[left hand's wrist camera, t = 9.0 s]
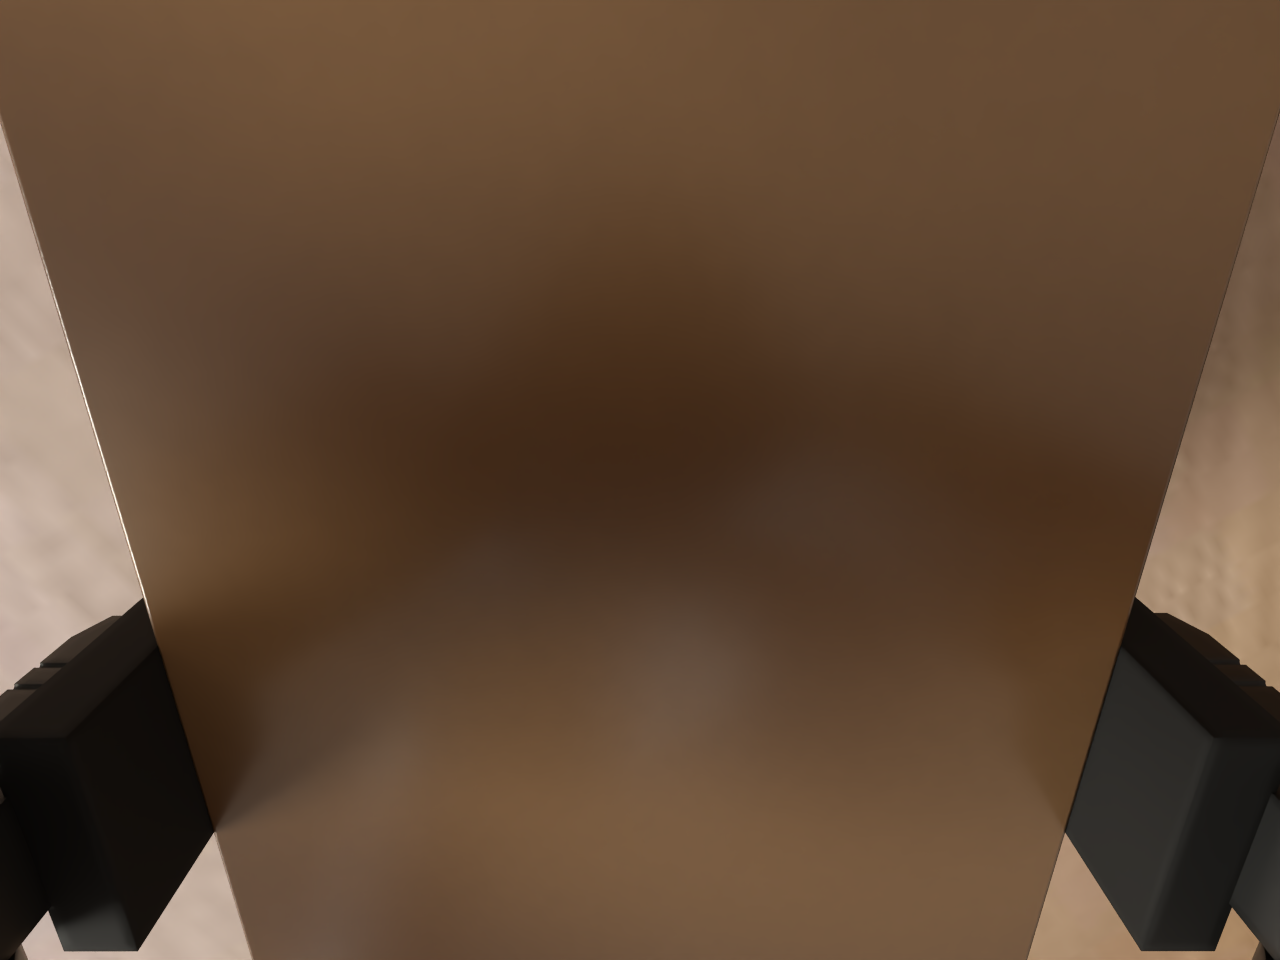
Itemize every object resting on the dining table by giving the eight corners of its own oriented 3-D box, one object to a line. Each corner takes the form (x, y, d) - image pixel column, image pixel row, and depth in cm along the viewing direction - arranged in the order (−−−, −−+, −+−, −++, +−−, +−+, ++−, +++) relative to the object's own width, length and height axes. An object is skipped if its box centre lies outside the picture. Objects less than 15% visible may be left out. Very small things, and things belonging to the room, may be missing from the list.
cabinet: (348, -290, 14) (-513, -1557, 3) (928, -290, 14) (1785, -1557, 3) (450, 590, 21) (269, 1023, 11) (829, 590, 21) (1010, 1022, 11)
